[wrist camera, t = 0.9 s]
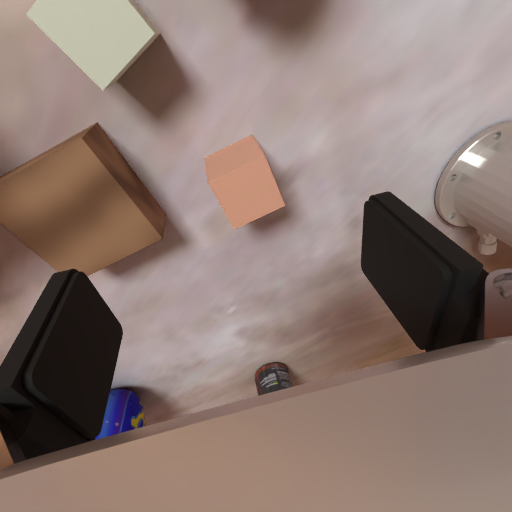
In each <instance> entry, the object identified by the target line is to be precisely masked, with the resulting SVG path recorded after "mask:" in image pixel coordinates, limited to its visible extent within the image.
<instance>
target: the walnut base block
mask: <svg viewBox="0 0 512 512" xmlns="http://www.w3.org/2000/svg"><path fill="white" fill-rule="evenodd" d="M165 217H166V214H165V213H164V211H163V210H162V209H161V207H160V206H159V205H158V203H157V202H156V201H155V199H154V198H153V197H152V195H151V194H150V192H149V191H148V190H147V188H146V187H145V186H144V184H143V183H142V182H141V180H140V179H139V178H138V176H137V175H136V174H135V172H134V171H133V170H132V168H131V167H130V166H129V164H128V163H127V162H126V160H125V159H124V158H123V156H122V155H121V154H120V152H119V151H118V150H117V148H116V147H115V146H114V144H113V143H112V142H111V140H110V139H109V138H108V136H107V135H106V134H105V132H104V131H103V130H102V128H101V127H100V126H99V124H98V123H96V124H94V125H92V126H90V127H88V128H87V129H85V130H83V131H81V132H80V133H78V134H76V135H74V136H72V137H71V138H69V139H67V140H65V141H64V142H62V143H60V144H58V145H56V146H55V147H53V148H51V149H49V150H48V151H46V152H44V153H42V154H40V155H39V156H37V157H35V158H33V159H32V160H30V161H28V162H26V163H24V164H23V165H21V166H19V167H17V168H16V169H14V170H12V171H10V172H9V173H7V174H5V175H3V176H2V177H0V224H1V225H3V226H4V227H5V228H6V229H7V230H9V231H10V232H11V233H12V234H13V235H15V236H16V237H17V238H18V239H19V240H21V241H22V242H23V243H24V244H25V245H27V246H28V247H29V248H30V249H32V250H33V251H34V252H35V253H36V254H38V255H39V256H40V257H41V258H42V259H44V260H45V261H46V262H47V263H48V264H50V265H51V266H52V267H53V268H54V269H56V270H57V271H58V272H61V271H65V270H69V269H76V270H78V271H79V272H80V271H82V272H84V273H85V274H86V275H87V276H89V275H91V274H93V273H95V272H97V271H99V270H101V269H103V268H105V267H107V266H109V265H111V264H113V263H115V262H117V261H119V260H121V259H123V258H125V257H127V256H129V255H131V254H133V253H135V252H137V251H139V250H141V249H143V248H145V247H147V246H149V245H151V244H153V243H155V242H157V241H159V240H161V239H163V233H164V225H165Z"/></svg>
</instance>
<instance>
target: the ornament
mask: <svg viewBox="0 0 512 512" xmlns="http://www.w3.org/2000/svg"><path fill="white" fill-rule="evenodd" d="M144 426H145V416H144V410H143V406H142V403H141V401H140V400H139V398H138V397H137V396H136V394H135V393H134V392H133V391H130V390H124V389H116V390H110V394H109V398H108V402H107V407H106V411H105V416H104V420H103V425H102V429H101V432H100V434H99V435H98V436H97V437H95V440H97V439H100V438H104V437H108V436H111V435H115V434H119V433H122V432H126V431H130V430H133V429H137V428H141V427H144Z"/></svg>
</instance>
